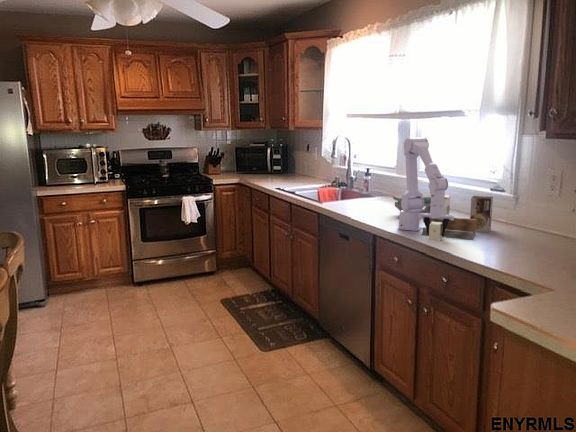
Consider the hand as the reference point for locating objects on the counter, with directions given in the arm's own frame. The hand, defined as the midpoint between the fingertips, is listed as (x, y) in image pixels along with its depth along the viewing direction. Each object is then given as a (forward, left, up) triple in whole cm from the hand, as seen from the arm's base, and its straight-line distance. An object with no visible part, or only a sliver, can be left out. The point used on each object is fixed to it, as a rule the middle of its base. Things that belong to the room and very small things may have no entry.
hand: (435, 234), depth 211 cm
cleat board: (+4, +10, -2) cm, 11 cm away
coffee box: (+16, +26, -2) cm, 31 cm away
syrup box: (-3, +33, -2) cm, 33 cm away
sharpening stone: (-19, +47, -2) cm, 51 cm away
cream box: (0, 0, -2) cm, 2 cm away
